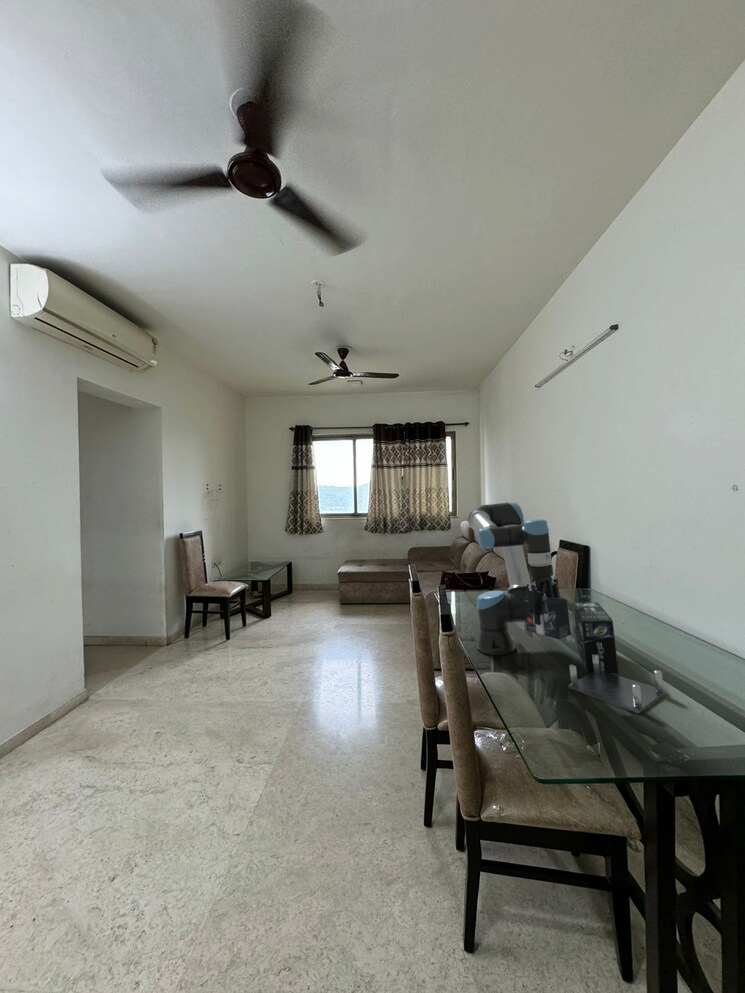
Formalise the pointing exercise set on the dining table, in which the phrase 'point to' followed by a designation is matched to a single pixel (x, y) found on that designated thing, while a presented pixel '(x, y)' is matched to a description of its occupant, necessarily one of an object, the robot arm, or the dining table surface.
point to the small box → (550, 617)
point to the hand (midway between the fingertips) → (548, 630)
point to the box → (594, 636)
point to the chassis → (618, 688)
